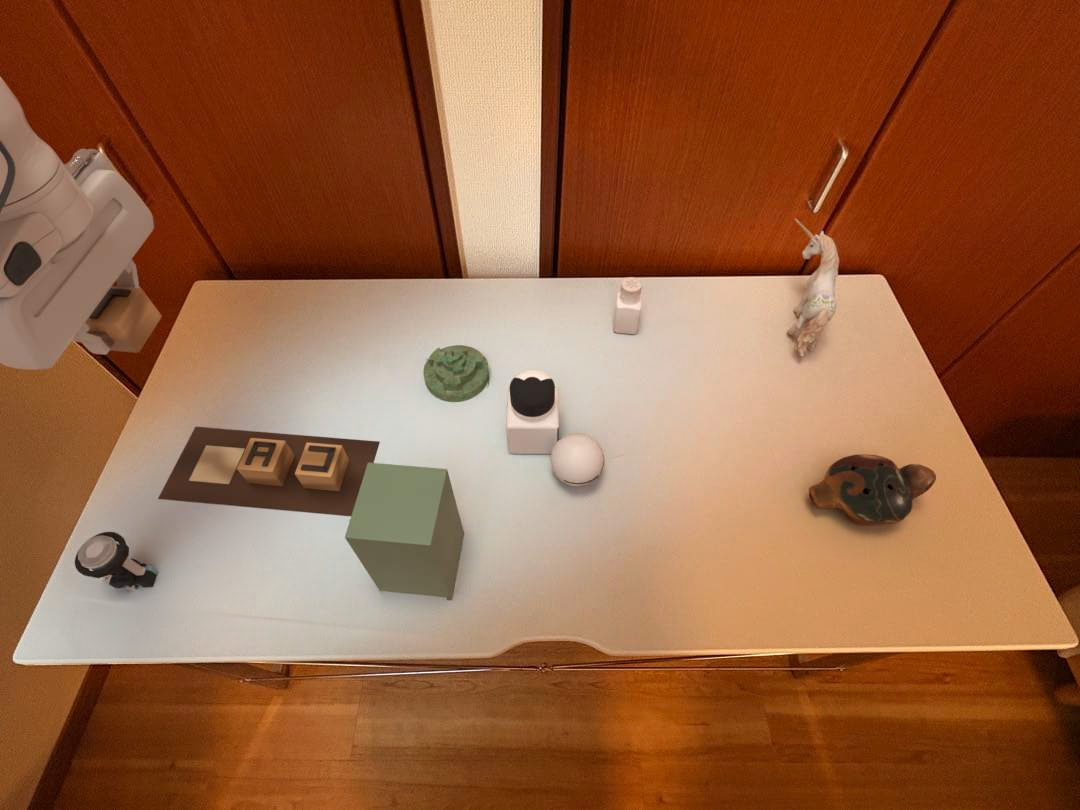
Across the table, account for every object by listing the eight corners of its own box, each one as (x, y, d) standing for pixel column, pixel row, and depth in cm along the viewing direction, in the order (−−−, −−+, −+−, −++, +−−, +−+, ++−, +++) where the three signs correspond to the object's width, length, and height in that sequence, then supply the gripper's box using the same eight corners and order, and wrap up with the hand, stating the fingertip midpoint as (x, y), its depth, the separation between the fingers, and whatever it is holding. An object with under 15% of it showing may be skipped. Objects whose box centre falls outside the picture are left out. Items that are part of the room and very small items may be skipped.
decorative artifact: (497, 395, 95) (480, 349, 100) (493, 366, 89) (476, 319, 95) (433, 412, 93) (420, 364, 99) (426, 384, 87) (412, 335, 93)
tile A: (283, 486, 85) (271, 470, 81) (248, 483, 85) (235, 467, 82) (295, 455, 88) (284, 439, 84) (261, 452, 88) (249, 436, 85)
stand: (451, 600, 76) (430, 545, 62) (381, 593, 77) (344, 537, 63) (464, 533, 81) (447, 468, 68) (398, 527, 82) (367, 462, 68)
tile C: (339, 491, 84) (330, 475, 81) (304, 488, 85) (293, 472, 81) (349, 460, 87) (341, 443, 84) (315, 457, 87) (305, 441, 84)
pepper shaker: (614, 316, 104) (619, 274, 97) (637, 318, 104) (645, 276, 96) (612, 333, 102) (617, 291, 94) (636, 336, 102) (644, 294, 94)
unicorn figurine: (811, 281, 109) (840, 218, 98) (837, 366, 97) (873, 305, 87) (770, 280, 109) (794, 218, 98) (791, 364, 98) (822, 304, 87)
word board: (358, 520, 83) (356, 516, 82) (161, 502, 85) (157, 498, 84) (381, 445, 90) (379, 441, 89) (198, 430, 92) (195, 425, 91)
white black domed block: (558, 455, 88) (559, 406, 79) (508, 454, 88) (503, 406, 79) (557, 414, 93) (559, 363, 83) (510, 414, 93) (506, 363, 83)
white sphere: (548, 494, 85) (548, 467, 79) (552, 449, 89) (552, 420, 83) (620, 500, 84) (626, 473, 78) (621, 454, 88) (626, 425, 82)
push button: (101, 602, 76) (49, 573, 68) (117, 561, 80) (69, 529, 72) (155, 601, 77) (109, 571, 68) (169, 560, 80) (126, 527, 72)
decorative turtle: (929, 524, 81) (960, 500, 75) (819, 546, 81) (839, 523, 74) (894, 460, 87) (920, 432, 80) (790, 480, 86) (807, 453, 79)
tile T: (138, 353, 61) (113, 323, 57) (91, 349, 61) (63, 319, 57) (162, 316, 63) (139, 285, 60) (117, 313, 64) (91, 282, 60)
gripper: (59, 135, 56) (141, 253, 68) (-99, 292, 44) (32, 404, 56) (124, 139, 56) (195, 257, 67) (-19, 298, 44) (97, 409, 55)
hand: (120, 325), depth 61 cm, fingers closed on tile T, 5 cm apart
